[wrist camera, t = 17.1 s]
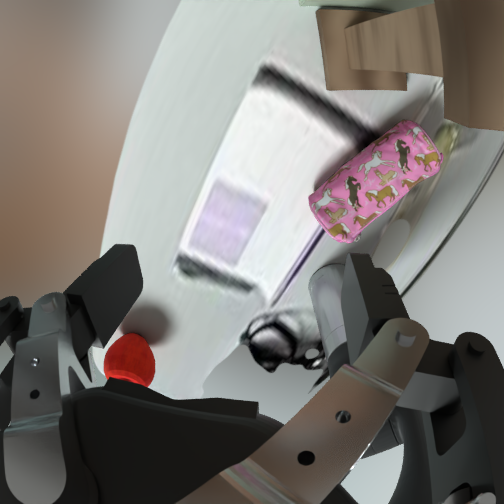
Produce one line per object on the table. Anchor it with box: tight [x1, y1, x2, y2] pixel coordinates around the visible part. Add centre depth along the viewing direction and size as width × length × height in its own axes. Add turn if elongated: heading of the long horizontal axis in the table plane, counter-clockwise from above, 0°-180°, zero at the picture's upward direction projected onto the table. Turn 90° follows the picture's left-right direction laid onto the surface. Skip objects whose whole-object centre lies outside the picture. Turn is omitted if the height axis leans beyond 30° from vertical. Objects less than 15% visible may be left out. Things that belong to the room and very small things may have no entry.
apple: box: [104, 333, 155, 387], centre depth 58 cm, size 12×12×13 cm
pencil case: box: [308, 120, 443, 243], centre depth 40 cm, size 21×9×9 cm, turn 135°
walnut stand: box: [316, 0, 504, 131], centre depth 19 cm, size 16×12×32 cm
